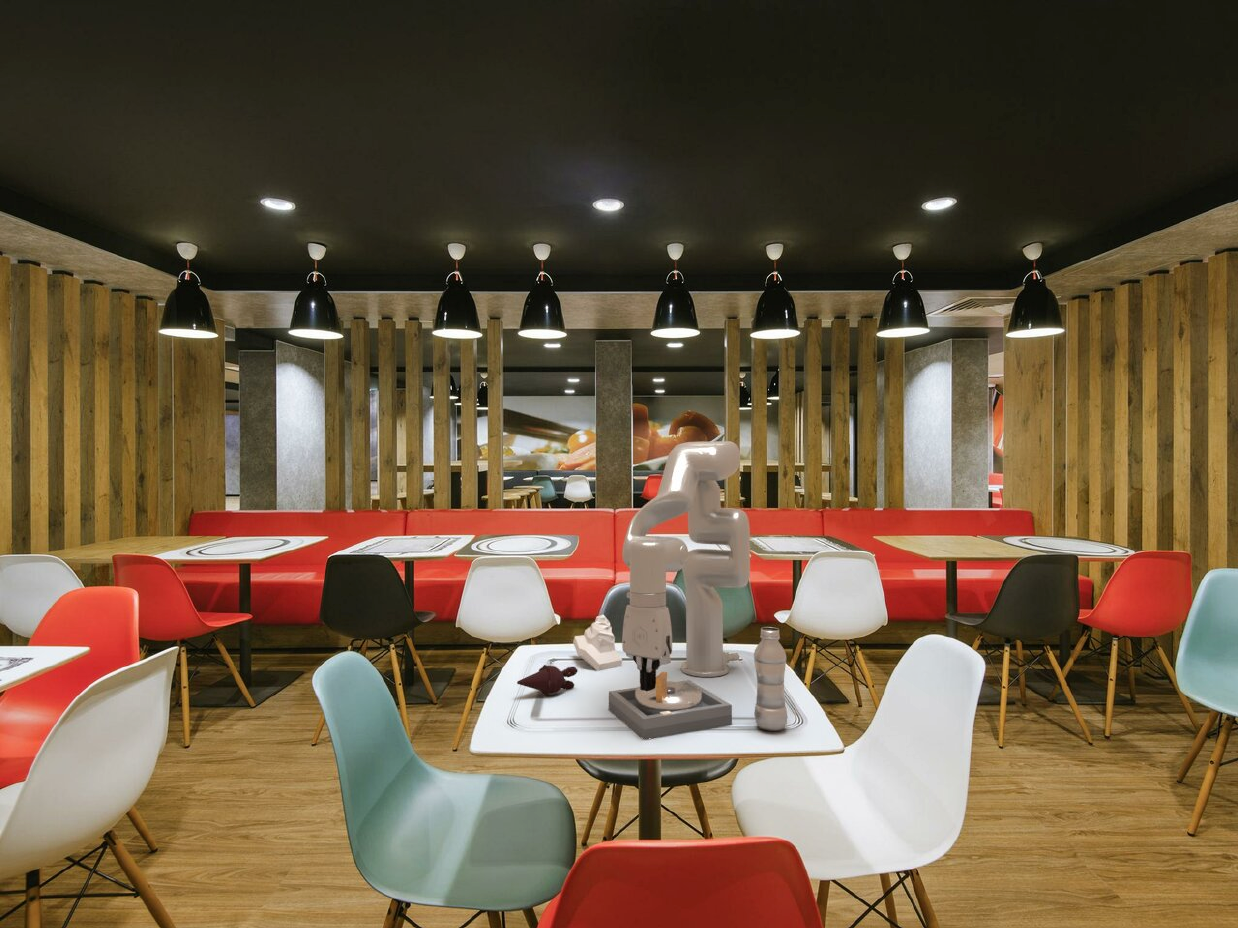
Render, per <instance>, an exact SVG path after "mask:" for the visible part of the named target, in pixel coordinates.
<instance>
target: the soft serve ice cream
mask: <svg viewBox="0 0 1238 928" xmlns="http://www.w3.org/2000/svg"><path fill="white" fill-rule="evenodd" d="M612 629H613V627H612V626H611V622H610V620H609V619H608V618H607V617H606V616H605V615H604V614H600V615H598V616H596V618H595V620H594V621H593V622H592V623H591V625H590V626H589V627H587V629H585V631H584V635H583V634H582V635H575V636H573V637H574V638H573V642H572V643H573V646H574V648H575V651H576V654H577V655H578V656H579V657H580V658H581V659H582V660H584V661H585V663H587V664H588V665H590V666H591V667H592V669H593V668H594V670H596V671H604V670H608V669H609V670H610V669H612V668H617V667H622V664H623V658H622V657H621V655H620V653H619V652H618V651H617V650H616V646H615V641H616V636H615V635H614V633H613V631H612Z"/></svg>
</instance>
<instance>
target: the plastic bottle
mask: <svg viewBox="0 0 1238 928" xmlns="http://www.w3.org/2000/svg"><path fill="white" fill-rule="evenodd" d="M760 639H761V641H760V642H759V643H758V645H757V646H756V648H755V649H754V653H753V658H754V666H755V671H756V673H755V674H756V681H757V682H756V687H757V688H756V699H755V700H756V701H755V702H756V703H755V706H754V720H755V724H756V725H757V726H758V728H760V729H762V730H766V731H771V732H773V731H775V732H777V731H778V732H779V731H782V730H785V728H786V726H787V724H788V719H789V718H788V710H787V706H786V698H785V697H786V696H785V690H784V689H785V671H786V663H787V654H786V651H785V649H784V647H783V646H782V644H781V643H780V642H779V640H780V639H781V636H780V629H779V628H778V627H771V626H764V627H761V628H760Z"/></svg>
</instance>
